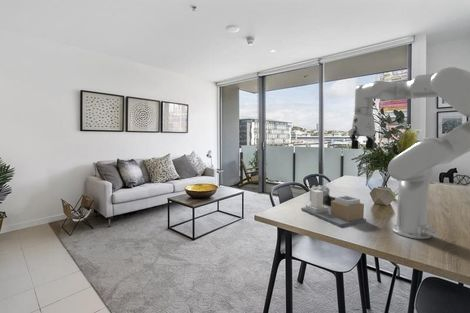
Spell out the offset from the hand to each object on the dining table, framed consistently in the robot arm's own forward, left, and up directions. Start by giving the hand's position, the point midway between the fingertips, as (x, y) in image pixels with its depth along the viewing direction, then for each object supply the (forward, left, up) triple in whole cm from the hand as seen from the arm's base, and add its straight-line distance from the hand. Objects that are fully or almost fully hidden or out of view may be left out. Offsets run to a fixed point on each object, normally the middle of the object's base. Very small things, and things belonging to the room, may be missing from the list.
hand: (362, 148), depth 112 cm
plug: (+14, +14, -32) cm, 38 cm away
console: (+7, +11, -33) cm, 36 cm away
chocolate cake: (+17, -1, -34) cm, 38 cm away
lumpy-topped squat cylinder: (+32, -5, -34) cm, 47 cm away
